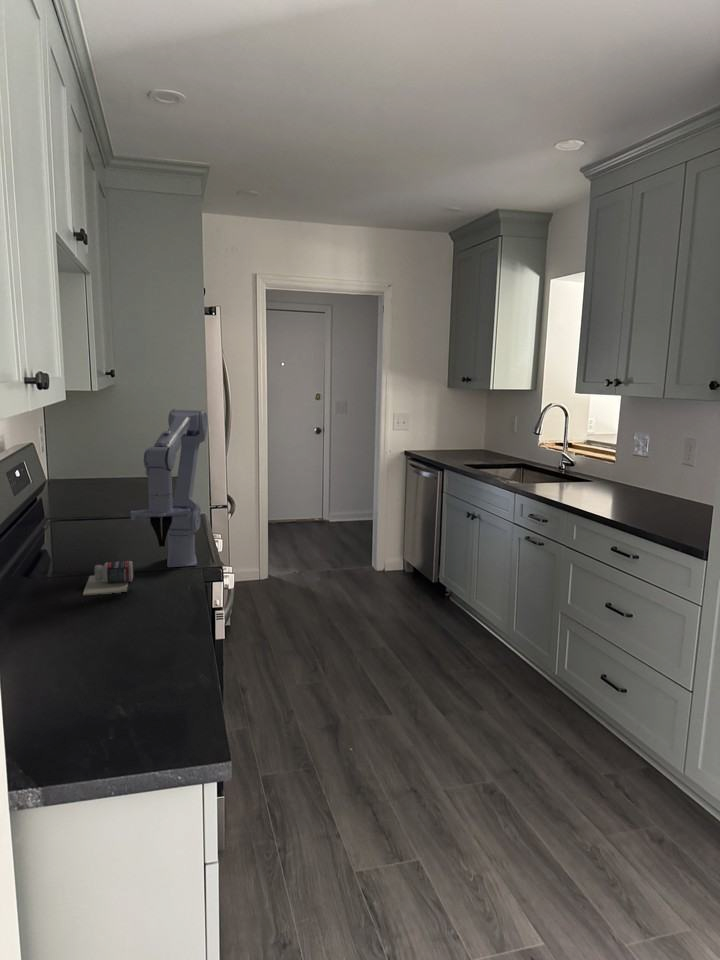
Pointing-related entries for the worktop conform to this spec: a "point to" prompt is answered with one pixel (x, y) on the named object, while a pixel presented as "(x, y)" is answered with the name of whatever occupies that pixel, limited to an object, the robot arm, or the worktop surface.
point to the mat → (103, 587)
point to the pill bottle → (114, 572)
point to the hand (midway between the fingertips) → (162, 545)
